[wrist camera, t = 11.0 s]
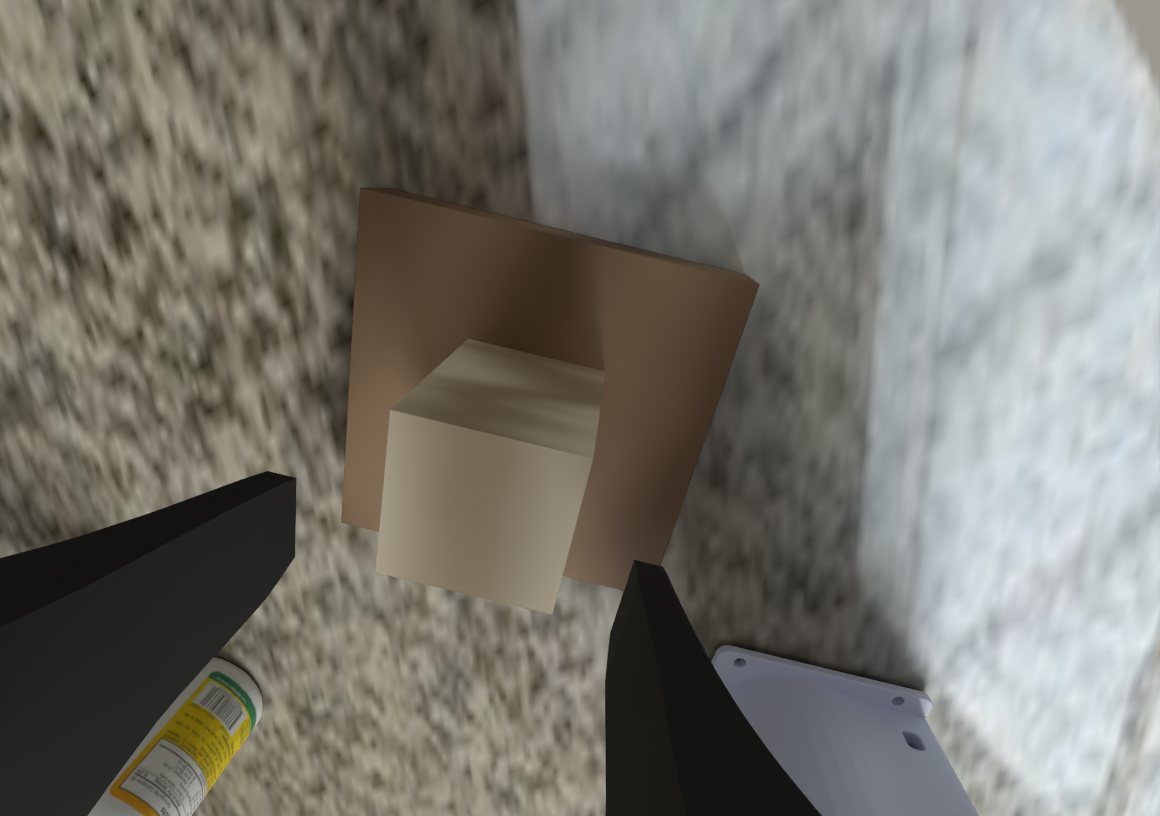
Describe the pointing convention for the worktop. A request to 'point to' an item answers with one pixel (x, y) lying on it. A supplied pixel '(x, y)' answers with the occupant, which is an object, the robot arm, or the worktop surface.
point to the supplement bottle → (186, 746)
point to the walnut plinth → (545, 353)
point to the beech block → (489, 474)
